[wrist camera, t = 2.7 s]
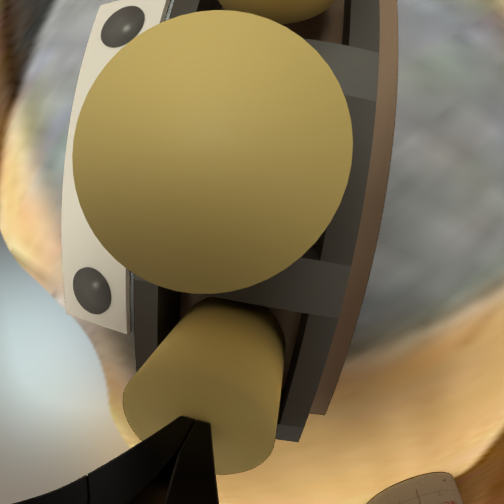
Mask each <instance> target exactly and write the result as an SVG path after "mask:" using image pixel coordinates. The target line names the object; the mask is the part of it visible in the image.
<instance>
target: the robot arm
mask: <svg viewBox="0 0 504 504" xmlns="http://www.w3.org/2000/svg"><path fill="white" fill-rule="evenodd" d="M13 504H219V499H218V491H217V482H216V472H215V463H214V453H213V442H212V430H211V424H210V423H209V422H205V421H201V420H195V419H194V418H190V417H187V416H179V417H178V418H176V419H175V420H173V421H172V422H170V423H169V424H167V425H166V426H165V427H163V428H162V429H160V430H159V431H157V432H156V433H154V434H153V435H151V436H149V437H148V438H146V439H145V440H143V441H142V442H140V443H139V444H137V445H135V446H134V447H132V448H131V449H129V450H128V451H126V452H125V453H123V454H121V455H120V456H118V457H116V458H114V459H113V460H111V461H109V462H108V463H106V464H105V465H103V466H101V467H99V468H97V469H96V470H94V471H92V472H90V473H89V474H88V476H87V475H85V476H83V477H81V478H79V479H78V480H76V481H74V482H72V483H70V484H68V485H66V486H63V487H61V488H59V489H57V490H54V491H52V492H49V493H46V494H43V495H40V496H37V497H34V498H31V499H27V500H24V501H21V502H17V503H13Z"/></svg>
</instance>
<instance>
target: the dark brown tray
mask: <svg viewBox="0 0 504 504" xmlns="http://www.w3.org/2000/svg"><path fill="white" fill-rule="evenodd" d="M210 10H226V9H225V8H224V7H223V6H222V5H221V4H220V3H219V1H218V0H174V3H173V7H172V10H171V14H170V17H169V19H172V18H175V17H178V16H181V15H185V14H189V13H194V12H200V11H210ZM281 25H283V26H285V27H287V28H288V29H290V30H291V31H293V32H294V33H296V34H297V35H299V36H300V37H302V38H303V39H304V40H305V41H306V42H307V43H309V44H310V45H311V46H312V47H313V48H314V49H315V50H316V51H317V52H318V53H319V54H320V56H321V57H322V58H323V59H324V60H325V62H326V63H327V64H328V65H329V67H330V69H331V70H332V72H333V74H334V75H335V77H336V79H337V80H338V82H339V84H340V87H341V89H342V91H343V94H344V96H345V99H346V102H347V105H348V110H349V114H350V118H351V124H352V136H353V151H352V164H351V169H350V174H349V178H348V183H347V186H346V189H345V192H344V194H343V197H342V200H341V202H340V205H339V207H338V209H337V211H336V212H335V214H334V216H333V218H332V220H331V222H330V224H329V225H328V226H327V228H326V229H325V230H324V232H323V233H322V234H321V236H320V237H319V239H318V240H317V241H316V242H315V243H314V244H313V245H312V246H311V247H310V248H309V249H308V250H307V251H306V252H305V253H304V255H303V256H301V257H300V258H299V259H298V260H296V261H295V262H294V263H292V264H291V265H290V266H289V267H287V268H286V269H284V270H283V271H281V272H279V273H278V274H276V275H274V276H273V277H271V278H269V279H267V280H265V281H262V282H260V283H257V284H255V285H253V286H250V287H247V288H243V289H239V290H235V291H231V292H224V293H216V294H192V293H186V292H179V291H174V290H171V289H167V288H164V287H160V286H158V285H155V284H153V283H151V282H149V281H146V280H144V279H142V278H141V277H139V276H137V275H136V274H134V335H135V355H136V369H137V372H138V370H139V369H140V368H141V367H142V366H143V364H144V363H145V362H146V361H147V360H148V358H149V357H150V356H151V355H152V354H153V352H154V351H155V350H156V349H157V348H158V346H159V345H160V344H161V343H162V342H163V340H164V339H165V338H166V337H167V336H168V334H169V333H170V332H171V331H172V330H173V328H174V327H175V326H176V325H177V324H178V322H179V321H180V320H181V319H182V318H183V316H184V315H185V314H186V313H187V312H188V311H189V309H190V308H191V307H192V306H194V305H195V304H196V303H197V302H199V301H201V300H203V299H205V298H207V297H211V296H213V297H218V298H223V299H228V300H234V301H239V302H244V303H249V304H255V305H260V306H263V307H265V308H266V309H267V310H268V311H269V312H270V313H271V314H272V315H273V316H274V317H275V318H276V320H277V321H278V323H279V324H280V326H281V328H282V330H283V333H284V337H285V343H286V349H285V359H284V369H283V378H282V387H281V396H280V404H279V413H278V421H277V428H276V436H275V439H279V440H286V441H293V442H299V439H300V437H301V434H302V431H303V429H304V426H305V423H306V420H307V418H308V415H309V413H310V414H319V415H325V414H326V411H327V409H328V406H329V404H330V401H331V398H332V396H333V393H334V390H335V388H336V385H337V382H338V379H339V376H340V373H341V371H342V368H343V365H344V362H345V359H346V356H347V353H348V349H349V346H350V343H351V340H352V337H353V333H354V330H355V327H356V323H357V320H358V316H359V313H360V309H361V306H362V302H363V298H364V295H365V291H366V287H367V283H368V279H369V275H370V271H371V266H372V262H373V258H374V253H375V249H376V244H377V239H378V234H379V229H380V224H381V219H382V213H383V208H384V202H385V196H386V190H387V183H388V177H389V170H390V162H391V154H392V146H393V136H394V126H395V114H396V101H397V82H398V12H397V0H335V2H334V3H333V4H332V5H331V6H330V7H329V8H328V9H327V10H325V11H324V12H322V13H321V14H319V15H317V16H315V17H312V18H310V19H307V20H304V21H300V22H295V23H288V24H281Z"/></svg>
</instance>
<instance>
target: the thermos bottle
mask: <svg viewBox="0 0 504 504" xmlns="http://www.w3.org/2000/svg"><path fill="white" fill-rule="evenodd" d="M368 504H463V503H462V500H461V497H460V494H459V491H458V488H457V486H456V483H455V480H454V478H453V476H452V475H450V474H448V473H444V472H437V473H429V474H425V475H420V476H417V477H414V478H411V479H408V480H405V481H403V482H400V483H398V484H396V485H394V486H392V487H390V488H388V489H386V490H384V491H383V492H381V493H379V494H378V495H376V496H375V497H374V498H373V499H371V501H370V502H369V503H368Z"/></svg>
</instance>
